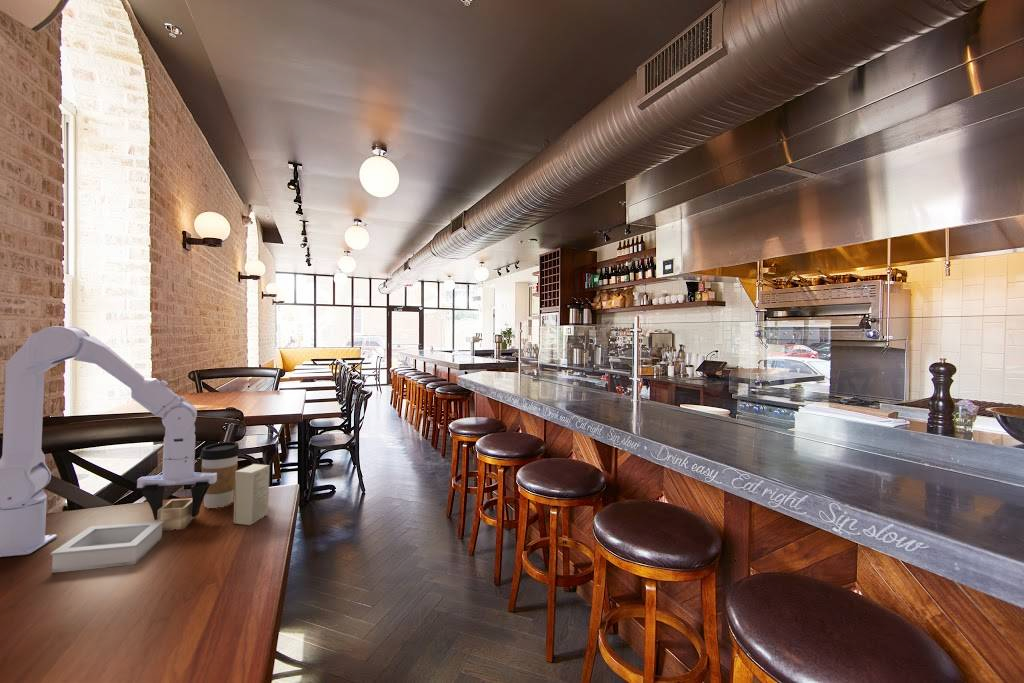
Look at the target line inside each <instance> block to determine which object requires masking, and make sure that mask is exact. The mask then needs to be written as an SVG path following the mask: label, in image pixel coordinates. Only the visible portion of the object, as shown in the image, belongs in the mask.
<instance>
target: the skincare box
mask: <svg viewBox="0 0 1024 683" xmlns="http://www.w3.org/2000/svg"><path fill="white" fill-rule="evenodd" d="M270 466H271V465H270V464H260V463H251V465H247V466H245V467H242V468H240V469H237V471H235V487H234V494H233V500H234V503H233V522H232V523H233V524H236V525H237V524H238V525H247V526H251V525H252V524H254V523H256V522H258V521H259V519H260V518H261V519H263V518H264V516H265V515H266V516H268V515H269V497H270V496H269V494H270V492H269V491H270ZM267 514H268V515H267ZM266 516H265V517H266ZM262 517H263V518H262ZM261 519H260V520H261ZM257 520H258V521H257Z"/></svg>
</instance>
